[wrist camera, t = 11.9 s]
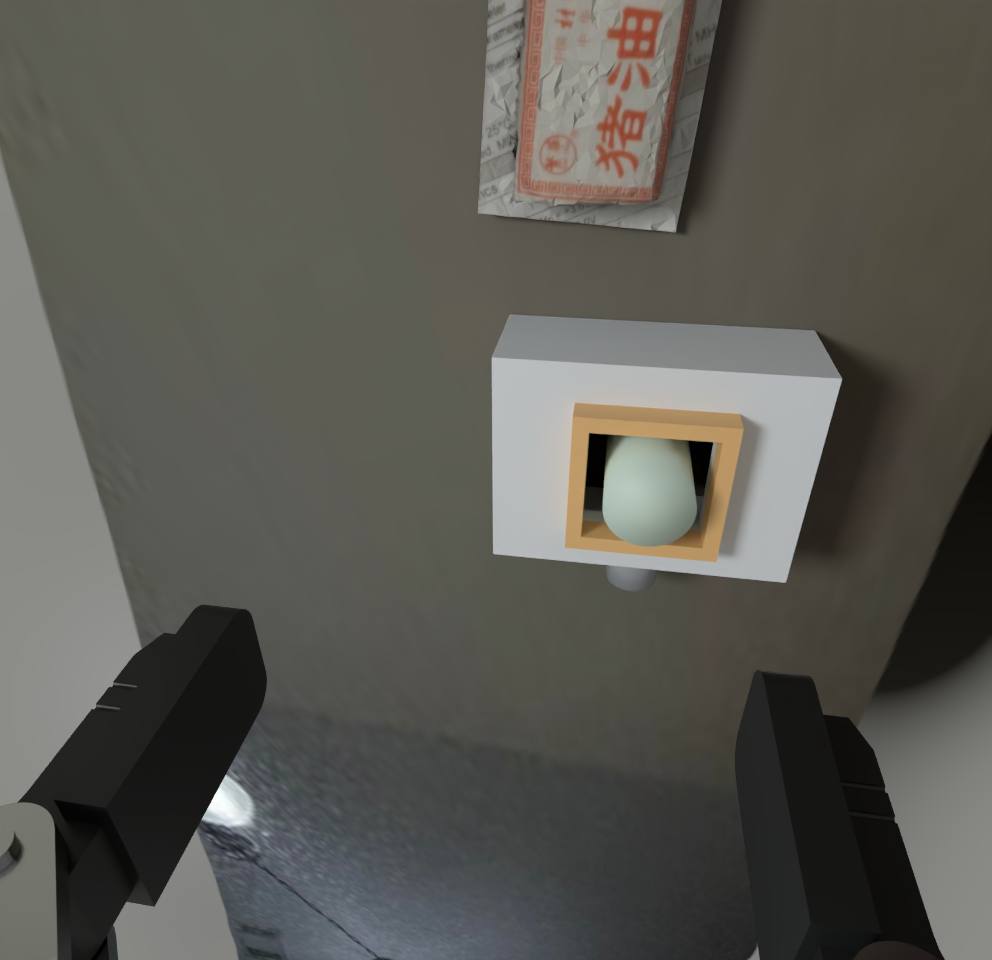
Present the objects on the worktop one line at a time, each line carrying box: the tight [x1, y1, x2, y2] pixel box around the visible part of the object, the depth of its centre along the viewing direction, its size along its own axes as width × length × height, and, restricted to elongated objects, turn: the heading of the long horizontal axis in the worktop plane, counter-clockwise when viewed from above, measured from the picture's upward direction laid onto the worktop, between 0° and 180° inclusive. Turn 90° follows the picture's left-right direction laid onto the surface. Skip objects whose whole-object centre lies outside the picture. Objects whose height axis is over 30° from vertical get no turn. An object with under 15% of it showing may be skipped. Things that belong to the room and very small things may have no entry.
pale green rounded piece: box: [603, 434, 697, 547], centre depth 38 cm, size 4×4×9 cm
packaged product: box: [478, 0, 722, 233], centre depth 30 cm, size 18×5×10 cm
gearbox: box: [492, 314, 842, 591], centre depth 40 cm, size 15×16×8 cm
